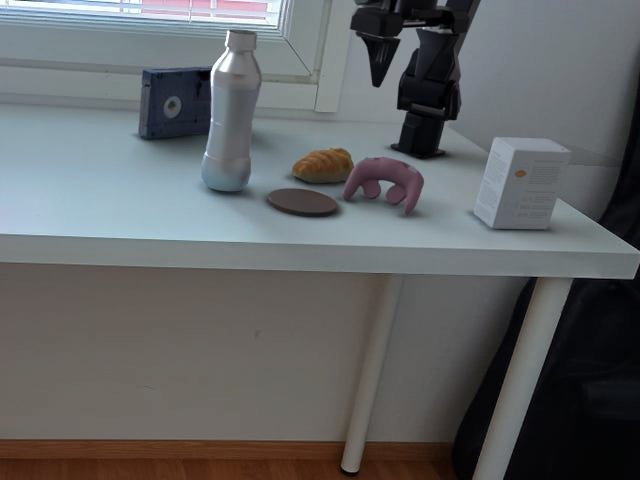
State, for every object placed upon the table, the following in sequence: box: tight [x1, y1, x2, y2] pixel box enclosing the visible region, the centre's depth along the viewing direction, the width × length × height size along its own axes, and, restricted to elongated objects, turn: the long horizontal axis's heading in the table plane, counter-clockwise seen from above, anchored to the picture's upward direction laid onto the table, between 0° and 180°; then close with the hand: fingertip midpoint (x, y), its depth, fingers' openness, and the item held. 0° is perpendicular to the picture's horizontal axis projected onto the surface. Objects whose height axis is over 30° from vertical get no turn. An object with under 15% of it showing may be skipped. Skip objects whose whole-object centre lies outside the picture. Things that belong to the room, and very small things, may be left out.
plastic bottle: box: [200, 28, 264, 192], centre depth 109 cm, size 6×7×20 cm
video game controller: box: [342, 156, 425, 216], centre depth 113 cm, size 10×5×7 cm
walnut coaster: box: [267, 187, 338, 218], centre depth 111 cm, size 9×9×1 cm
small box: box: [473, 136, 573, 230], centre depth 110 cm, size 8×6×10 cm
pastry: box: [291, 147, 355, 185], centre depth 121 cm, size 9×7×4 cm
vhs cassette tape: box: [137, 65, 214, 140], centre depth 134 cm, size 18×3×10 cm, turn 122°
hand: (397, 84), depth 121 cm, fingers open, 9 cm apart
